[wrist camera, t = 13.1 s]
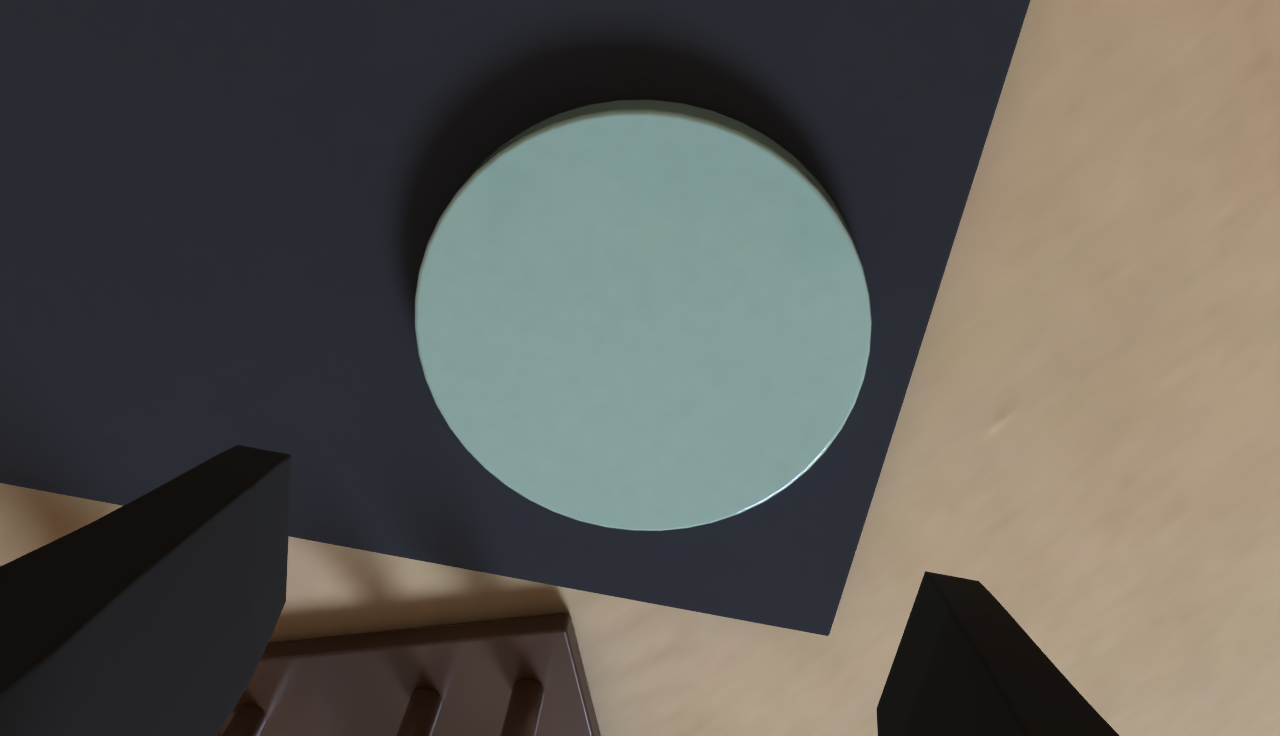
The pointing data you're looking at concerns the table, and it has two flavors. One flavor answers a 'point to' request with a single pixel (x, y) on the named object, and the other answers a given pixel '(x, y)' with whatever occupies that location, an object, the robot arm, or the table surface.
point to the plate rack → (423, 684)
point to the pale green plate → (643, 316)
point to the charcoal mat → (397, 238)
